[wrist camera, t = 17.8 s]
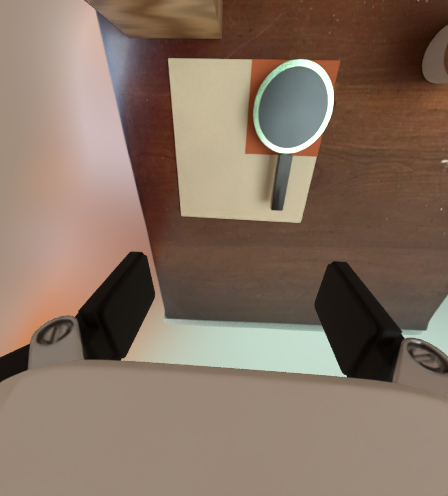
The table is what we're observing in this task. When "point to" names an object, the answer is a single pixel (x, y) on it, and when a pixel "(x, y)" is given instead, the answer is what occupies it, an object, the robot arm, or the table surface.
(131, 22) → the block
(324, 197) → the table surface
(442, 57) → the coffee cup
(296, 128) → the pan
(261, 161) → the mat
